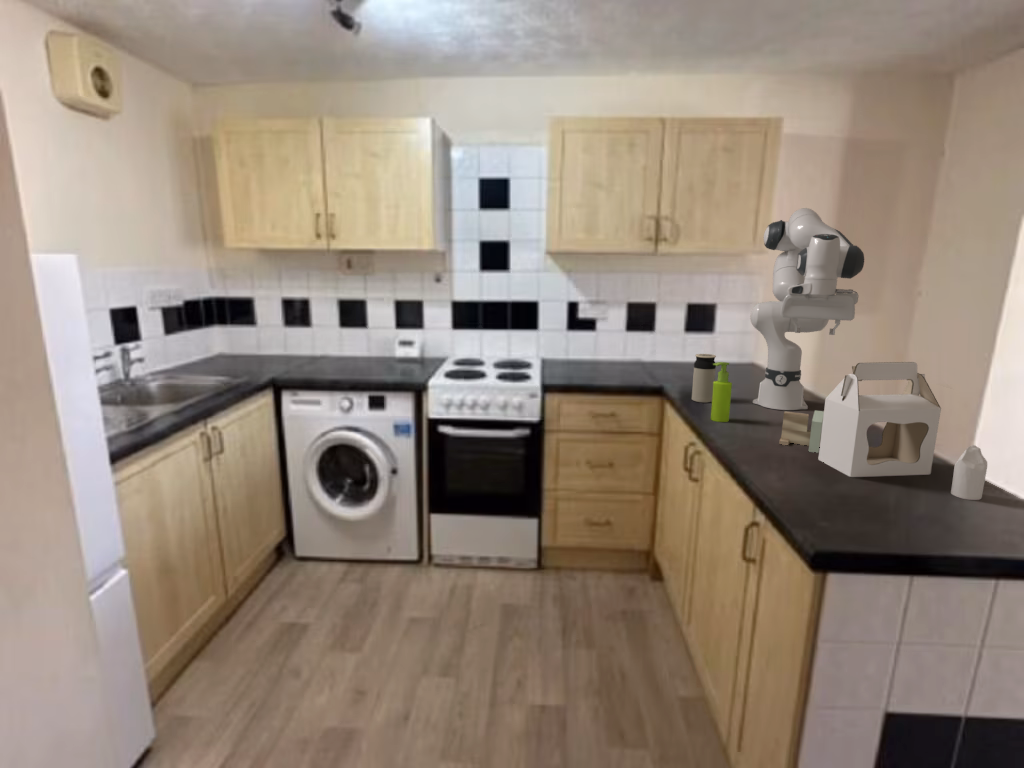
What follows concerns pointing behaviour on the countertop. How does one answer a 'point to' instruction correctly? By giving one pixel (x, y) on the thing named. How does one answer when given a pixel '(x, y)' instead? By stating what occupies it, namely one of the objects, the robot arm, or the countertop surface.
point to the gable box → (905, 414)
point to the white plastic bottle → (969, 474)
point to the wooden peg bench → (795, 429)
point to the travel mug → (703, 378)
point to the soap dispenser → (721, 395)
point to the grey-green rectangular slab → (816, 431)
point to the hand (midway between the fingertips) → (814, 333)
